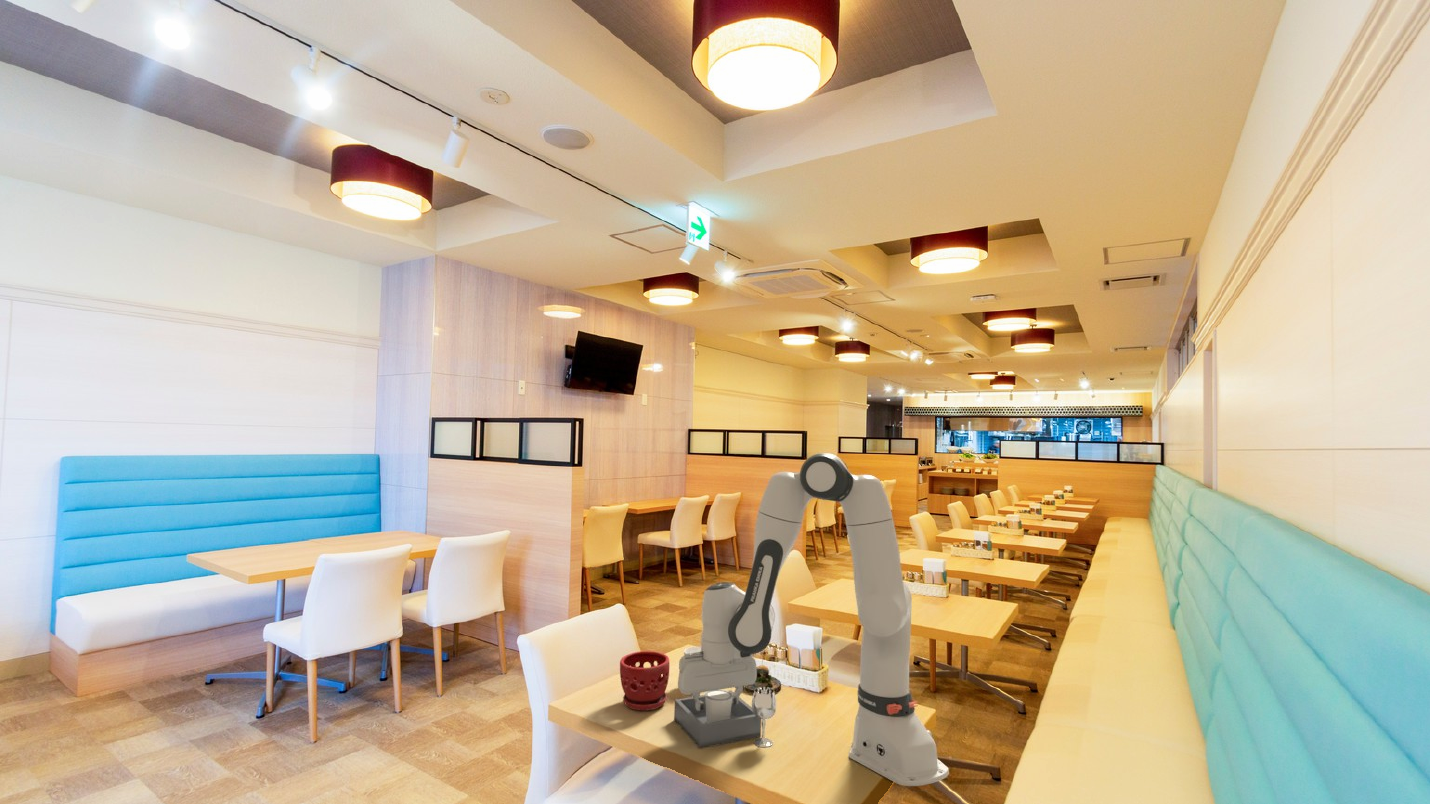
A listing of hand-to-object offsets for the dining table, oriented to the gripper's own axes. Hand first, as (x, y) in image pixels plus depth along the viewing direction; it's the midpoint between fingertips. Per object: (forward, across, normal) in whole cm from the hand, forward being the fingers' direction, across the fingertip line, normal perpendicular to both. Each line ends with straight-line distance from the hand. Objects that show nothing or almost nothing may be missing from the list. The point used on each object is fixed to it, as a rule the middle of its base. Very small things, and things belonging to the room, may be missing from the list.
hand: (717, 706), depth 160 cm
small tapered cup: (+4, 0, 0) cm, 4 cm away
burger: (+6, +23, +19) cm, 30 cm away
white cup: (+5, +6, +26) cm, 27 cm away
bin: (+5, 0, 0) cm, 5 cm away
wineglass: (+5, +7, -11) cm, 14 cm away
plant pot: (+5, -12, +20) cm, 24 cm away
